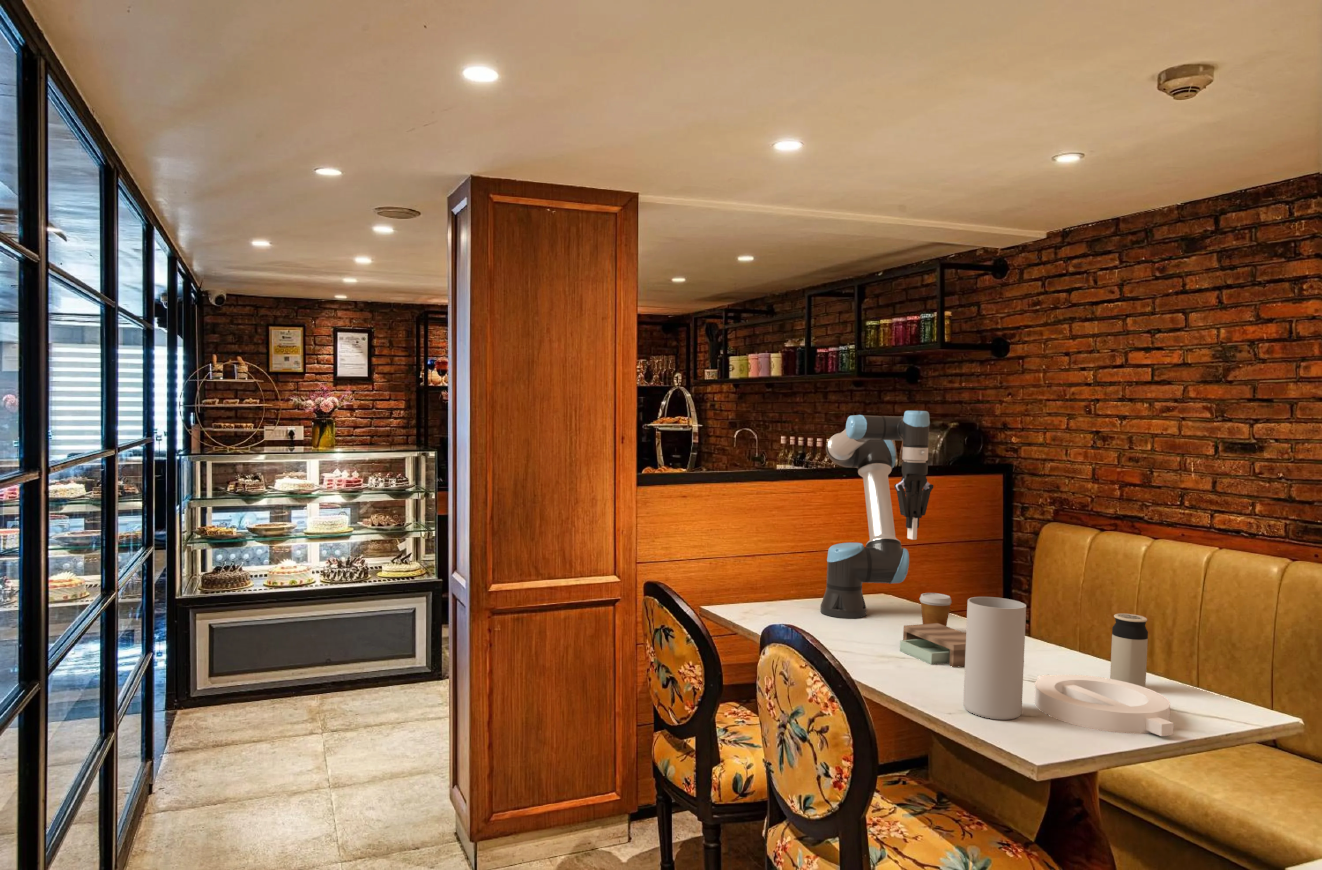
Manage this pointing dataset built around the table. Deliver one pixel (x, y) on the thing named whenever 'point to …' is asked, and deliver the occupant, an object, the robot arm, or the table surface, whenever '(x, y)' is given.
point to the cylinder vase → (994, 657)
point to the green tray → (925, 651)
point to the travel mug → (1129, 649)
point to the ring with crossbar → (1103, 704)
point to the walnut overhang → (940, 639)
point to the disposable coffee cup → (935, 608)
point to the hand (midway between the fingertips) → (911, 538)
